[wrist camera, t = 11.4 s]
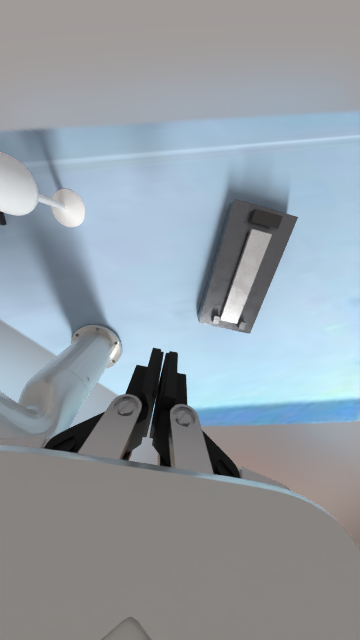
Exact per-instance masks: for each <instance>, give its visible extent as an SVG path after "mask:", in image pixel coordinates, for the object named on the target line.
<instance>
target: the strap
mask: <svg viewBox="0 0 360 640" xmlns="http://www.w3.org/2000/svg"><path fill="white" fill-rule="evenodd" d="M271 236H272V234H269V233H265V232H261V231H258V230H254V229H250V231H249V234H248V237H247V240H246V243H245V246H244V249H243V251H242V254H241V257H240V260H239V263H238V266H237V269H236V272H235V275H234V278H233V280H232V283H231V286H230V289H229V292H228V295H227V298H226V301H225V304H224V306H223V309H222V312H221V315H220V320H222V321H227V322H231V323H235V324H237V323H238V320H239V318H240V315H241V312H242V310H243V307H244V305H245V302H246V300H247V297H248V295H249V292H250V289H251V287H252V284H253V282H254V279H255V277H256V274H257V272H258V269H259V266H260V264H261V261H262V259H263V256H264V254H265V251H266V249H267V246H268V243H269V241H270V238H271Z"/></svg>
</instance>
